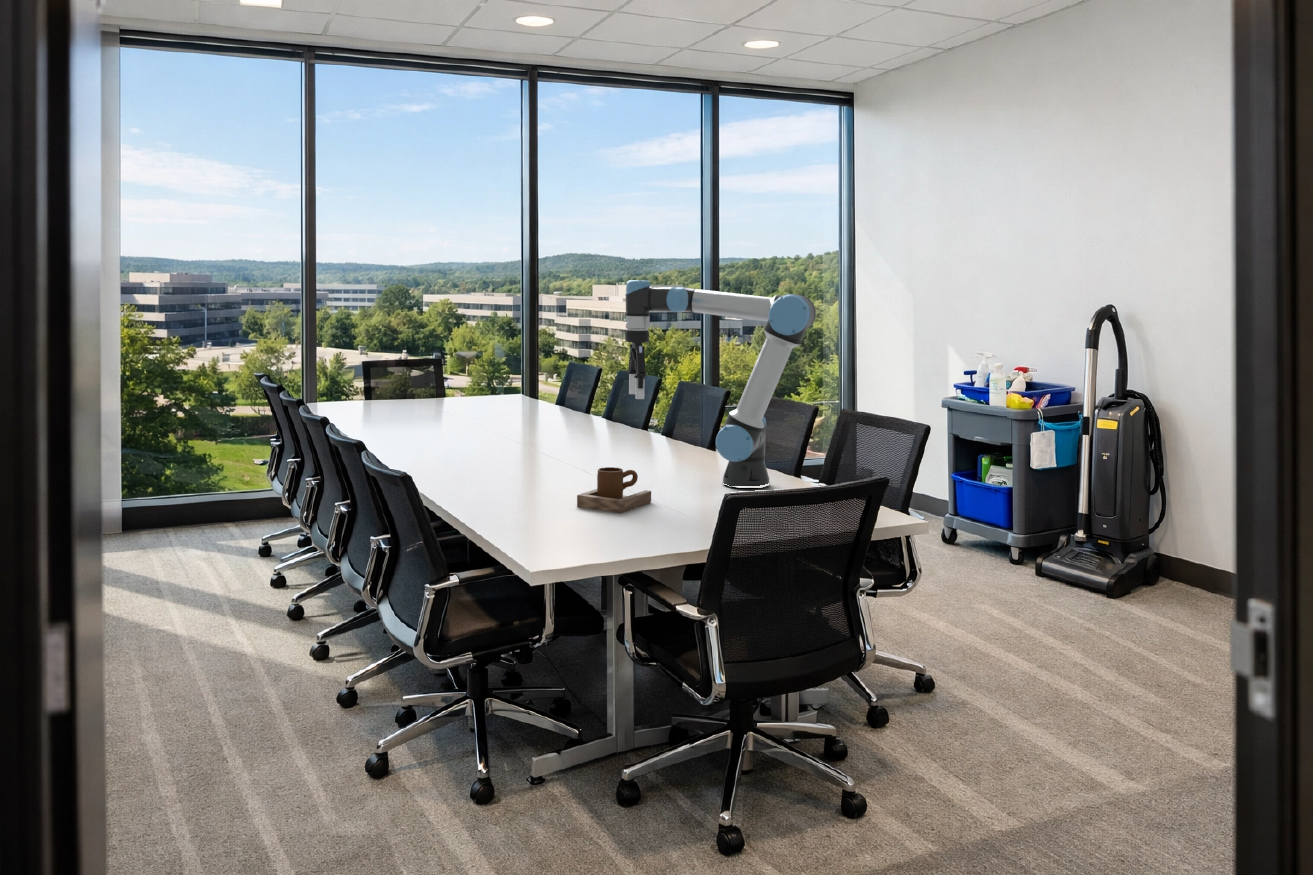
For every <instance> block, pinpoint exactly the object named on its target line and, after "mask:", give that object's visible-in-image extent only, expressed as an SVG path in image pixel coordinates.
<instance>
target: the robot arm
mask: <svg viewBox="0 0 1313 875" xmlns="http://www.w3.org/2000/svg"><path fill="white" fill-rule="evenodd" d="M650 312H672V313H679V312H680V313H681V312H686V313H687V312H688V313H696V314H707V315H713V316H721V317H729V318H734V319H736V318H737V319H742V320H743V319H745V320H753V321H754V320H755V321H760V322H766V325H765V327H764V330H763V333H764V334H765V340H764V342H763V345H762V347H761V349H760V352H759V353H758V357H757V359H756V361H755V363H754V366H753V368H752V371H751V373H750V375H749V378H748V380H747V383H746V385H745V387H744V390H743V392H742V395H741V398H740V399H739V401H738V404H737V407H736V409H733V410H730V411H729V413H728V415H727V417H726V419H725V422H724V424H723V427H722V428H721V429H720V430H719V431H718V433H717V434H716V437H715V446H716V447H715V448H716V450H717V452H718V454H719V455H720V456H721V457H722V458H723V459H725V460H726V461H728V462H727V465H726V468H725V471H724V474H723V475H722V484H723V483H724V484H727V485H729V486H760V485H765V484H768V483H769V484H770V476H769V473H768V469H767V466H766V462H765V461H766V460H765V458H766V432H767V429H766V428H767V422H766V421H767V419H766V417H765V413H766V412H767V409H768V406H769V404H770V402H771V399H772V397H773V395H774V392H775V390H776V388H777V386H778V384H779V380H780V379H781V376H782V374H783V372H784V369H785V367H786V364H787V363H788V360H789V358H790V355H791V353H792V350H793V349H794V348H796V347H799V346H800V345H801V343H802V340H803V338H804V336H805V333H806V331H807V330H808V329H810V327H812V326H813V324H814V323H815V322H814V321H816V316H817V310H816V306H815V304H814V302H813V301H812V300H811V299H810V298H809V297H807V296H805V295H803V294H798V293H797V294H795V293H790V294H788V293H787V294H784V295H779V294H775V295H774V296H772V297H770V296H760V295H750V294H741V293H735V292H734V293H733V292H725V291H716V290H709V289H698V288H690V287H687V286H651V282H650V281H649V280H637V279H635V280H633V279H632V280H631V279H630V280H628V281H627V282H626V287H625V318H624V319H623V322H624V323H625V329H626V330H625V331H624V335H625V337H624V338H625V342H626V343H629V357H628V358H629V359H628V369H627V371H628V375H629V376H628V378H629V379H628V395H634V396H635V399H636V400H645V390H646V389H645V385H646V382H645V379H646V377H647V371H646V358H645V350H646V347H645V346H644V345H643V344H644V343H645V344H646V343H649V341H650V331H649V330H648V329H650Z"/></svg>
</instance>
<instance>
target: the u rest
mask: <svg viewBox="0 0 1313 875" xmlns="http://www.w3.org/2000/svg"><path fill="white" fill-rule="evenodd" d="M650 502H651V503H652V490H648V489H646V490H641V491H639V492H636V493H633V494H630V495H624V494H623V498H621V499H614V498H607V497H600V496H597V488H596V489H593V490H589V491H585V492H582V493H579V494H577V495H576V507H577V508H582V507H583V508H584V509H587V510H588V509H589V510H596V511H602V512H609V513H616V514H623V513H626V512H630V511H631V509H632V510H635V509H637V508H639V507H643V506H645V505H648V504H651V503H650ZM636 507H637V508H636ZM583 508H582V509H583Z"/></svg>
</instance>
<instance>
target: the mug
mask: <svg viewBox="0 0 1313 875" xmlns="http://www.w3.org/2000/svg"><path fill="white" fill-rule="evenodd" d="M638 475H639V474H638V473H637V472H636V470H634V469H628V470H625V471H624V470H623V469H622V468H620V467H611V466H609V467H600V468H598V469H597V476H596V482H597V484H596V486H597V488H596V489H597V496H600V497H607V498H614V499H621V498H623V495H624V490H626V489H627V488H630V487H632V486H634V485H635V484H636V483H637V482H638V480H639V479H638V478H639V477H638ZM628 476H632V478H631V479H630V480H629V481H628V480H627V481H624V478H626V477H628Z"/></svg>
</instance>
